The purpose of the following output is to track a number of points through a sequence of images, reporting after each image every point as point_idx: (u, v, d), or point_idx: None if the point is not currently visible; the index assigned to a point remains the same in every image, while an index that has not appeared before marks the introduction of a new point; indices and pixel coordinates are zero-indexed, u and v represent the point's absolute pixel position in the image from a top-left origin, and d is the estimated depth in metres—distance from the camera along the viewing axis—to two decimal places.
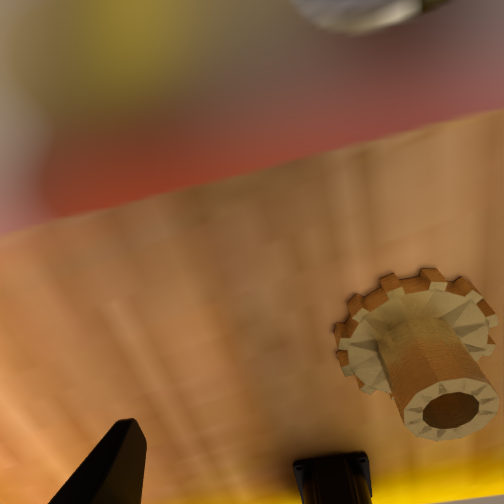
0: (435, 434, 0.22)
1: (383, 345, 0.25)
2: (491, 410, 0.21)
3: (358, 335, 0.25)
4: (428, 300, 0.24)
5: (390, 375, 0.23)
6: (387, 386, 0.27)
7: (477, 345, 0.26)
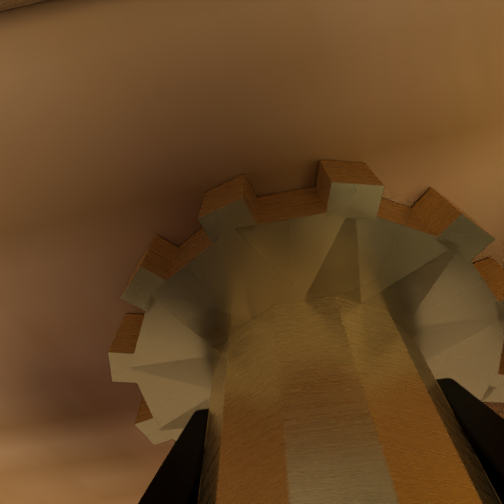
0: None
1: None
2: None
3: None
4: (165, 378, 0.10)
5: None
6: None
7: (334, 234, 0.08)
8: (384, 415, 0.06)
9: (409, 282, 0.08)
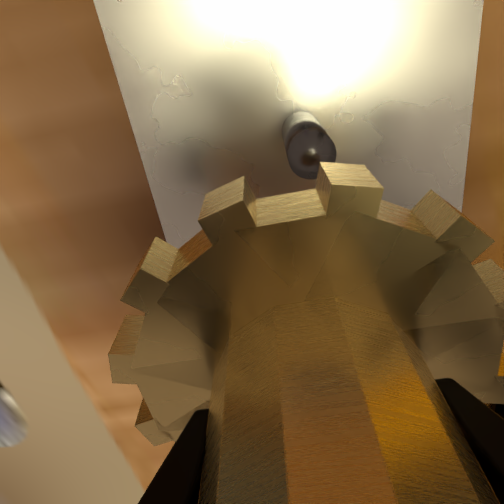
0: None
1: None
2: None
3: None
4: (165, 379, 0.10)
5: None
6: None
7: (334, 236, 0.08)
8: (384, 417, 0.06)
9: (409, 284, 0.08)
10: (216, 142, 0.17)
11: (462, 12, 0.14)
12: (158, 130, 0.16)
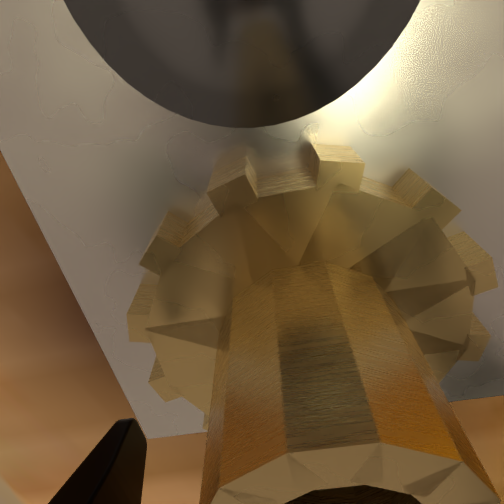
0: None
1: None
2: (368, 448, 0.06)
3: None
4: (176, 338, 0.11)
5: None
6: None
7: (324, 206, 0.09)
8: (362, 347, 0.07)
9: (389, 249, 0.10)
10: None
11: None
12: (115, 309, 0.12)
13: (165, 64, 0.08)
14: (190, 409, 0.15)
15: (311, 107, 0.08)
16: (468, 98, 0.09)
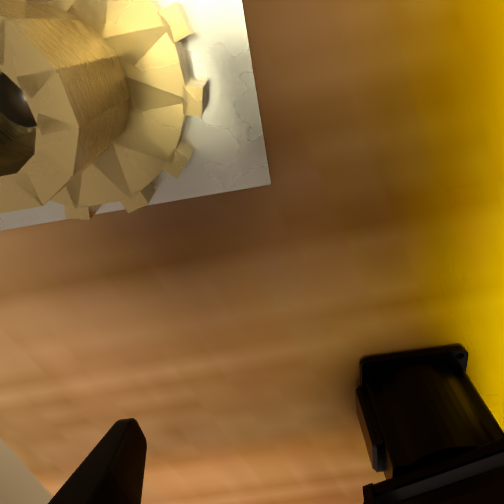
0: (57, 135, 0.10)
1: None
2: None
3: None
4: None
5: None
6: (165, 129, 0.15)
7: None
8: (1, 1, 0.10)
9: None
10: None
11: None
12: None
13: None
14: None
15: None
16: None
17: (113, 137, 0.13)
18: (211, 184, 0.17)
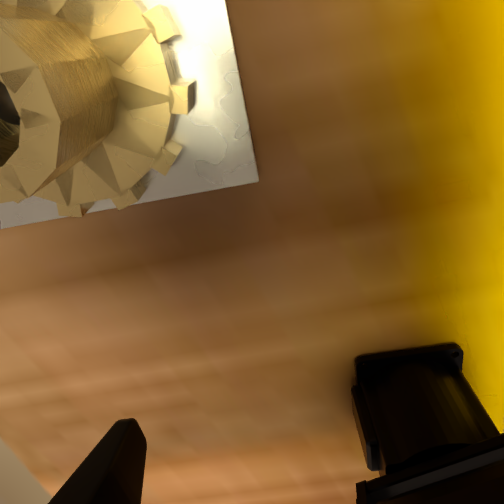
0: (39, 129, 0.10)
1: None
2: None
3: (47, 191, 0.16)
4: None
5: None
6: (152, 128, 0.15)
7: None
8: None
9: None
10: None
11: None
12: None
13: None
14: None
15: None
16: None
17: (100, 134, 0.14)
18: (200, 182, 0.18)
